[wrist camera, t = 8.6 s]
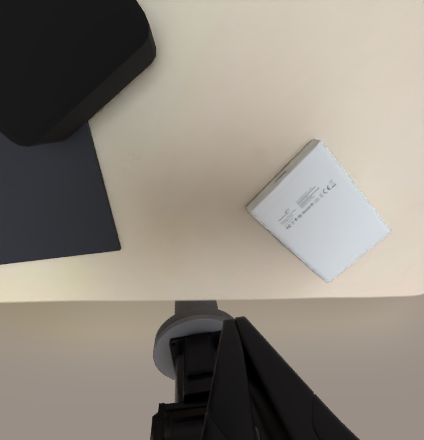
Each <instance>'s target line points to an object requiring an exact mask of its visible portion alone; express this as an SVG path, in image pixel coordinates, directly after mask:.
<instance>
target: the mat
mask: <svg viewBox="0 0 424 440" xmlns="http://www.w3.org/2000/svg"><path fill="white" fill-rule="evenodd" d="M120 249H121V247H120V243H119V239H118V235H117V231H116V228H115V224H114V220H113V216H112V212H111V209H110V205H109V201H108V197H107V193H106V190H105V186H104V182H103V178H102V174H101V171H100V167H99V163H98V159H97V155H96V152H95V148H94V144H93V140H92V136H91V133H90V129H89V125H88V121H86V122H85V123H84V124H83V125H82V126H81V127H80V128H79V129H77V130H76V131H75V132H74V133H73V134H72V135H71V136H70V137H69V138H67V139H66V140H63V141H61V142H55V143H49V144H43V145H37V146H31V147H26V146H19V145H17V144H15V143H14V142H12V141H10V140H9V139H8V138H7V137H6V136H4V135H3V134H2V133H1V132H0V265H1V264H9V263H18V262H26V261H35V260H43V259H51V258H60V257H68V256H77V255H85V254H93V253H102V252H110V251H119V250H120Z"/></svg>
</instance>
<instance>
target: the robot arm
mask: <svg viewBox="0 0 424 440" xmlns="http://www.w3.org/2000/svg"><path fill="white" fill-rule="evenodd" d="M173 342H174V343H173ZM169 347H170V352H171V356H172V361H173V366H174V371H175V403H170V404H165V403H159V409H158V413H156V414H155V415H154V416H153V417H152V428H151V437H150V440H360V439H359V438H357V437H356V436H355V435H354V434H353V433H352V432H351V431H350V430H349V429H348V428H347V427H346V426H345V425H344V424H343V423H342V422H341V421H340V420H339V419H338V418H337V417H336V416H335V415H334V414H333V413H332V412H331V411H330V409H329V408H328V407H327V406H326V405H325V404H324V403H323V402H322V401H321V400H320V399H319V397H317V395H316V394H314V393H313V391H312V390H311V389H310V388H309V387H308V386H307V384H306V383H305V382H304V381H303V380H302V379H301V378H300V377H299V376H298V375H297V374H296V373H295V371H294V370H293V369H292V368H291V367H290V366H289V365H288V364H287V362H285V360H284V359H283V358H282V357H281V356H280V355H279V354H278V353H277V352H276V350H275V349H274V348H273V347H272V346H271V345H270V344H269V343H268V342H267V341H266V339H265V338H264V337H263V336H262V335H261V334H260V333H259V332H258V331H257V329H256V328H255V327H254V326H253V325H252V324H251V323H250V322H249V321H248V320H247V318H246V317H236V318H235V319H233V318H229V319H224V320H223V325H222V330H221V331H214V332H208V333H201V334H195V335H188V336H182V337H175V338H171V339H170V340H169Z"/></svg>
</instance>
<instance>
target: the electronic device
mask: <svg viewBox="0 0 424 440" xmlns="http://www.w3.org/2000/svg"><path fill="white" fill-rule="evenodd" d="M155 57H156V46H155V42H154V39H153V36H152V32H151V29H150V26H149V23H148V20H147V18H146V15H145V13H144V11H143V10H142V8H141V7H140V5H139V4H138V2H137V1H136V0H0V132H1V133H2V134H3V135H4V136H6V137H7V138H8V139H9V140H10V141H12V142H14V143H15V144H17V145H19V146H26V147H31V146H37V145H43V144H49V143H55V142H61V141H63V140H66V139H67V138H69V137H70V136H71V135H72V134H73V133H74V132H75V131H76V130H77V129H79V128H80V127H81V126H82V125H83V124H84V123H85V122H86V121H87V120H89V119H90V118H91V117H92V116H93V115H94V114H95V113H96V112H98V111H99V110H100V109H101V108H102V107H103V106H104V105H105V104H106V103H108V102H109V101H110V100H111V99H112V98H113V97H114V96H115V95H116V94H118V93H119V92H120V91H121V90H122V89H123V88H124V87H125V86H126V85H128V84H129V83H130V82H131V81H132V80H133V79H134V78H135V77H136V76H138V75H139V74H140V73H141V72H142V71H143V70H144V69H145V68H146V67H148V66H149V65H150V64H151V63H152V61H153V60H154V58H155Z"/></svg>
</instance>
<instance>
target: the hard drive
mask: <svg viewBox="0 0 424 440" xmlns="http://www.w3.org/2000/svg"><path fill="white" fill-rule="evenodd" d="M246 209H247V211H248V212H249V213H250V214H251V215H252V216H253V217H254V218H255V219H256V220H258V221H259V222H260V223H261V224H262V225H263V226H264V227H265V228H266V229H267V230H269V231H270V232H271V233H272V234H273V235H274V236H275V237H276V238H277V239H278V240H280V241H281V242H282V243H283V244H284V245H285V246H286V247H287V248H288V249H289V250H290V251H292V252H293V253H294V254H295V255H296V256H297V257H298V258H299V259H300V260H302V261H303V262H304V263H305V264H306V265H307V266H308V267H309V268H310V269H311V270H313V271H314V272H315V273H316V274H317V275H318V276H319V277H320V278H322V279H323V280H324V281H325V282H326V283H328V282H331V281H332V280H333V279H335V278H336V277H337V276H338V275H340V274H341V273H342V272H343V271H344V270H346V269H347V268H348V267H349V266H350V265H352V264H353V263H354V262H355V261H357V260H358V259H359V258H360V257H361V256H363V255H364V254H365V253H366V252H368V251H369V250H370V249H371V248H372V247H374V246H375V245H376V244H377V243H379V242H380V241H381V240H382V239H383V238H385V237H386V236H387V235H388V234H389V233H390V232H391V229H390V228H389V226H388V225H387V224H386V223H385V221H384V220H383V219H382V218H381V216H380V215H379V214H378V213H377V211H376V210H375V209H374V207H373V206H372V205H371V204H370V202H369V201H368V200H367V198H366V197H365V196H364V195H363V193H362V192H361V191H360V189H359V188H358V187H357V186H356V184H355V183H354V182H353V181H352V179H351V178H350V177H349V175H348V174H347V173H346V172H345V170H344V169H343V168H342V167H341V165H340V164H339V163H338V161H337V160H336V159H335V158H334V156H333V155H332V154H331V153H330V151H329V150H328V149H327V147H326V146H325V145H324V144H323V142H322V141H321V140H315V139H314V140H312V141H311V142H310V143H309V144H308V145H307V146H306V147H305V148H304V149H303V150H302V151H301V152H300V153H299V154H298V155H297V156H296V157H295V158H294V159H293V160H292V161H291V162H290V163H289V164H288V165H287V166H286V167H285V168H284V169H283V170H282V171H281V172H280V173H279V174H278V175H277V176H276V177H275V178H274V179H273V180H272V181H271V182H270V183H269V184H268V185H267V186H266V187H265V188H264V189H263V190H262V191H261V192H260V193H259V194H258V195H257V196H256V197H255V198H254V199H253V200H252V201H251V202H250V203H249V205H248V206H247V207H246Z"/></svg>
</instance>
